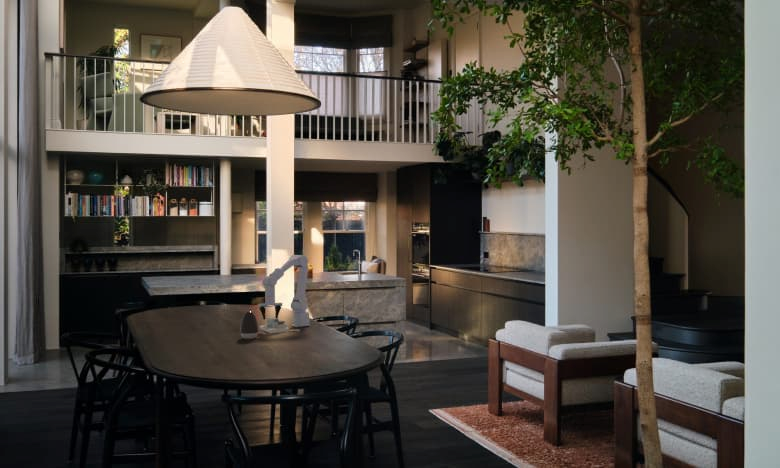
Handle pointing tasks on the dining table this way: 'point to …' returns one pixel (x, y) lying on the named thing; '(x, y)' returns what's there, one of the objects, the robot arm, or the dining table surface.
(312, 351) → the dining table surface
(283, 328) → the housing
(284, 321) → the plunger
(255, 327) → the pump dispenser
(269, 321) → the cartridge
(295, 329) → the coaster
